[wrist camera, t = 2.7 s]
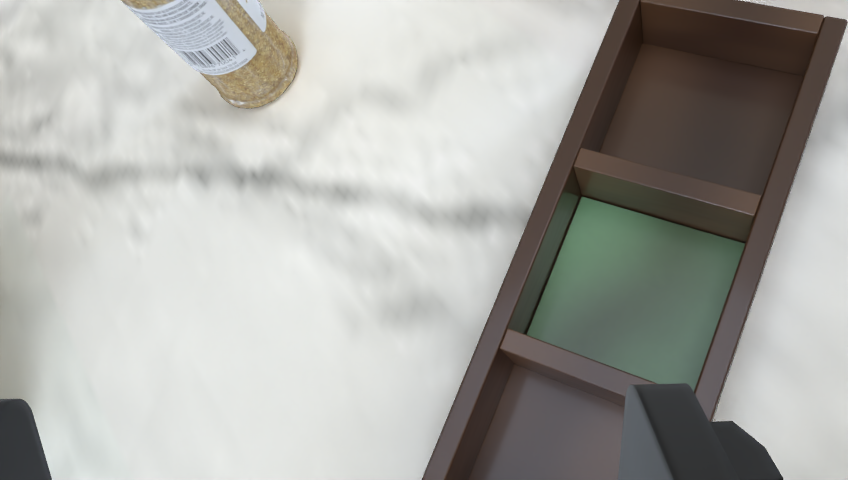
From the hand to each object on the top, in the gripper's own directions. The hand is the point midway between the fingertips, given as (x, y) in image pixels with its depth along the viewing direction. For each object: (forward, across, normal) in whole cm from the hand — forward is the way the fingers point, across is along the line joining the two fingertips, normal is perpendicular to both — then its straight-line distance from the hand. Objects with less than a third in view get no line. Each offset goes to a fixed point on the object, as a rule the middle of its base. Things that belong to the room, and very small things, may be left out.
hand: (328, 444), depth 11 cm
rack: (+18, -9, +8) cm, 22 cm away
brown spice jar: (+31, +7, +2) cm, 32 cm away
